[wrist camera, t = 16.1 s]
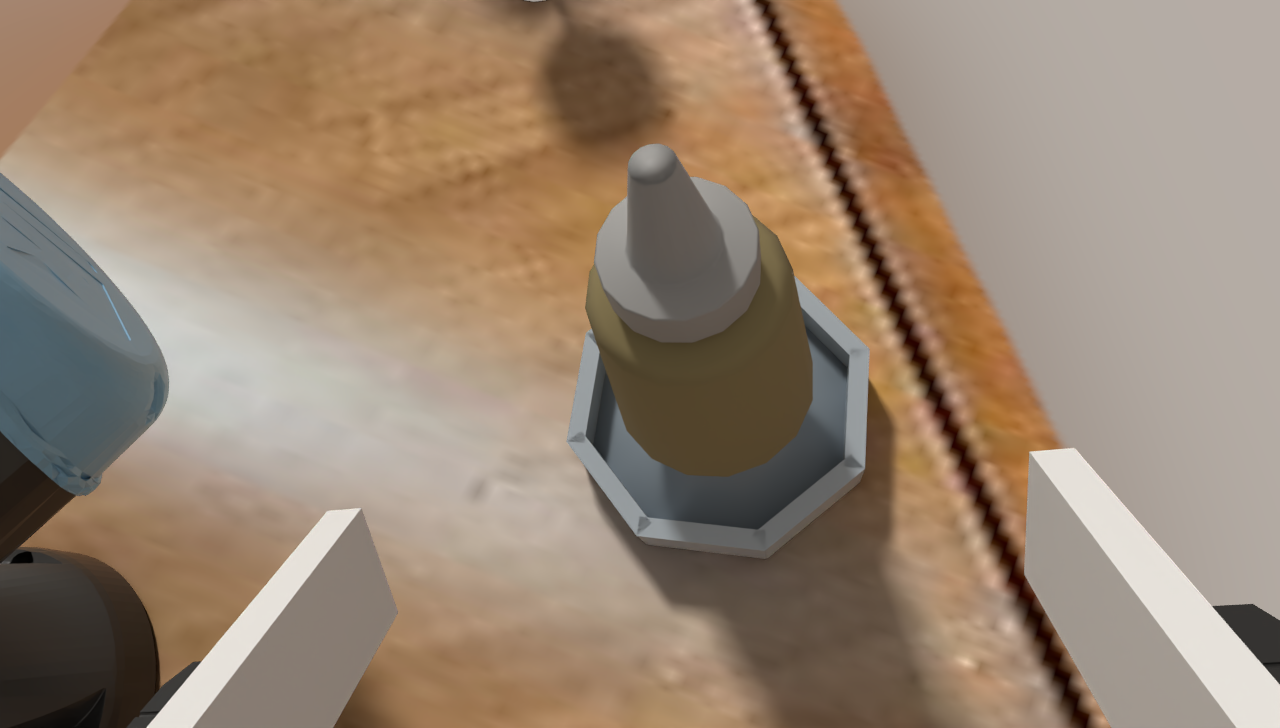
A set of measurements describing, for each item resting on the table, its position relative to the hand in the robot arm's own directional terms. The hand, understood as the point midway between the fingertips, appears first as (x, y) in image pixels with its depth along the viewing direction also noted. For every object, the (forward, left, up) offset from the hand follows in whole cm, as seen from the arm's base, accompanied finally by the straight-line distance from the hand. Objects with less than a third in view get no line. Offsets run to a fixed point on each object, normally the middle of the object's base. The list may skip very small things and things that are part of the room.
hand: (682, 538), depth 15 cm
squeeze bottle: (+5, +7, -17) cm, 19 cm away
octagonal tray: (+5, +7, -18) cm, 20 cm away
